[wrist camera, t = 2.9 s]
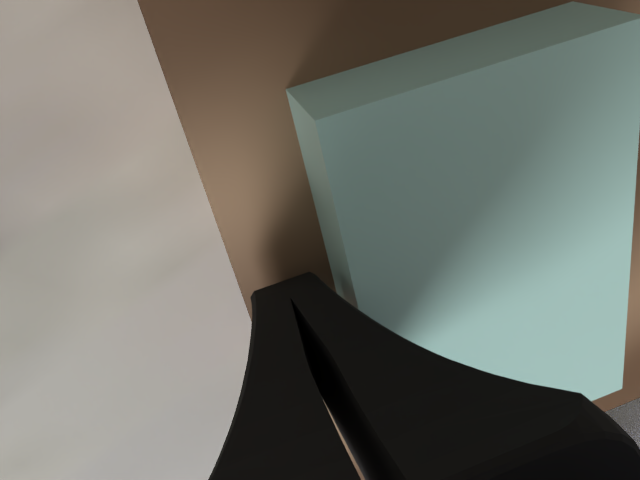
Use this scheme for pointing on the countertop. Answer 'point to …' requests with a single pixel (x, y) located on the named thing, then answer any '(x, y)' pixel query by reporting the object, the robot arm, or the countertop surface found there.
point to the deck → (278, 126)
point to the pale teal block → (488, 192)
